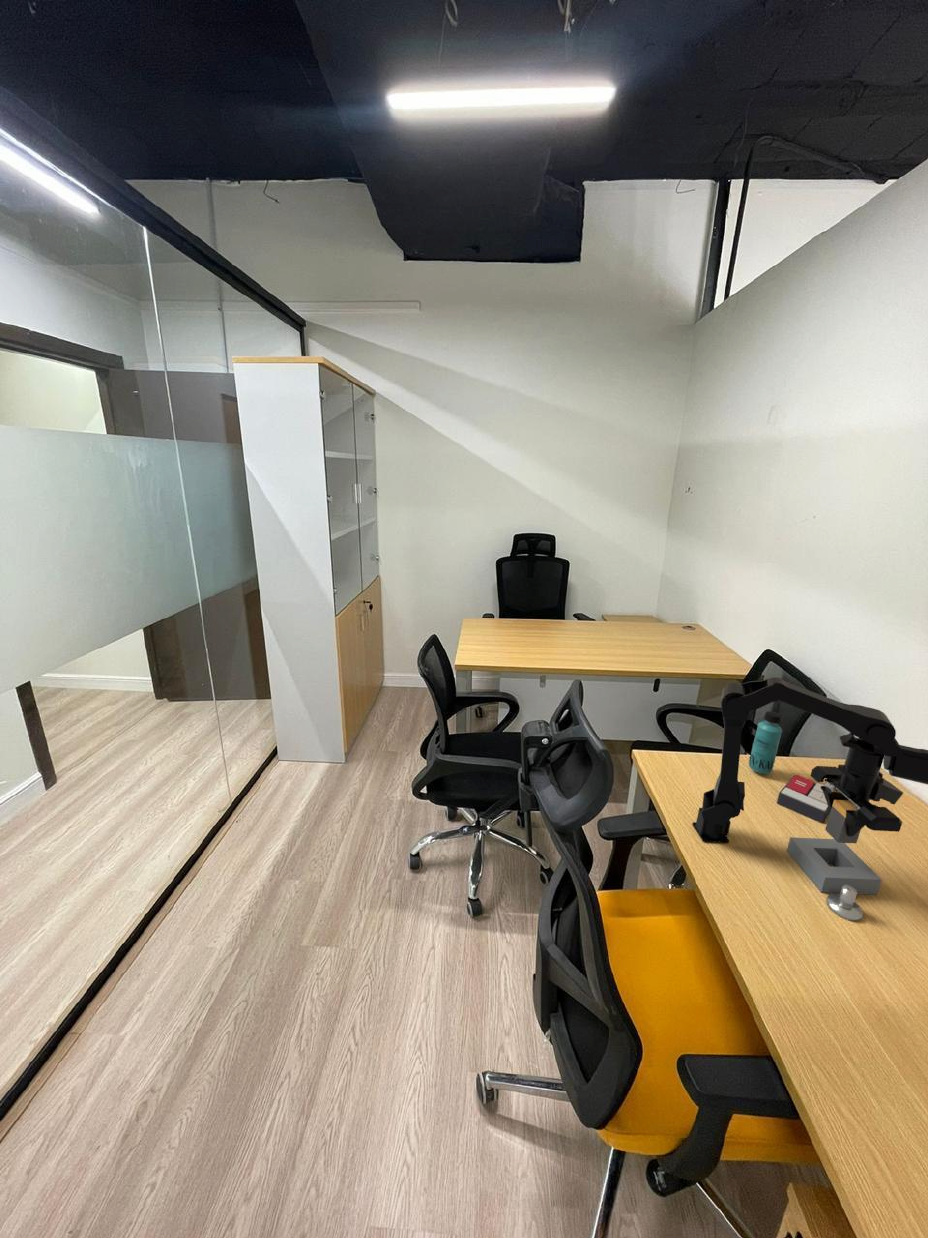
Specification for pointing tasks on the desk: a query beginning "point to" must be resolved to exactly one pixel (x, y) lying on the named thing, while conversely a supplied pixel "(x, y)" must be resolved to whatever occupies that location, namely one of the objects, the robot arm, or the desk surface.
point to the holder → (831, 879)
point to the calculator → (804, 798)
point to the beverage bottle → (766, 744)
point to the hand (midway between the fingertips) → (842, 829)
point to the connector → (840, 822)
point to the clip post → (845, 904)
